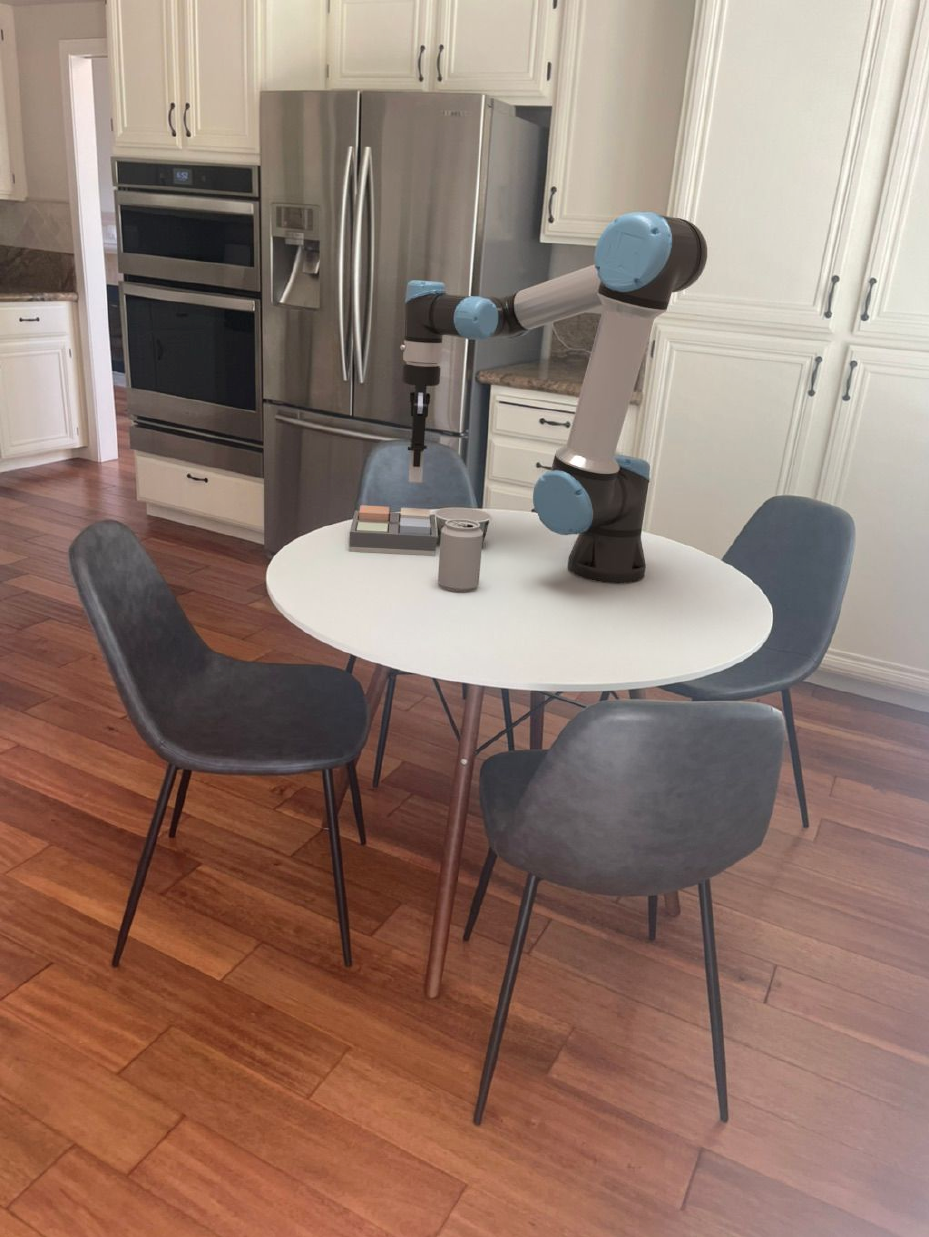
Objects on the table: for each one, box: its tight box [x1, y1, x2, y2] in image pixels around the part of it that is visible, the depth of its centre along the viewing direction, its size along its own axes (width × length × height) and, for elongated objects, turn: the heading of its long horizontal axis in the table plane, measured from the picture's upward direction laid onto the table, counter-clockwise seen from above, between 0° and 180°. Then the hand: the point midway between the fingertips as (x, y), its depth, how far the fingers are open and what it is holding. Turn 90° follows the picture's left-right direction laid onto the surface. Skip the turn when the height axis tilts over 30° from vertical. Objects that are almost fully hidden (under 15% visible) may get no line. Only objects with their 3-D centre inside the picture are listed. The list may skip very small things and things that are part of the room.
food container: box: [433, 506, 493, 548], centre depth 195 cm, size 12×12×6 cm
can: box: [437, 519, 483, 593], centre depth 168 cm, size 8×8×12 cm
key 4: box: [400, 507, 431, 519], centre depth 197 cm, size 6×6×2 cm
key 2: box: [358, 504, 390, 521], centre depth 196 cm, size 6×6×2 cm
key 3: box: [400, 518, 430, 535], centre depth 189 cm, size 6×6×2 cm
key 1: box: [357, 522, 388, 533], centre depth 189 cm, size 6×6×2 cm
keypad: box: [348, 510, 437, 557], centre depth 194 cm, size 17×17×4 cm
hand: (415, 481), depth 194 cm, fingers closed
